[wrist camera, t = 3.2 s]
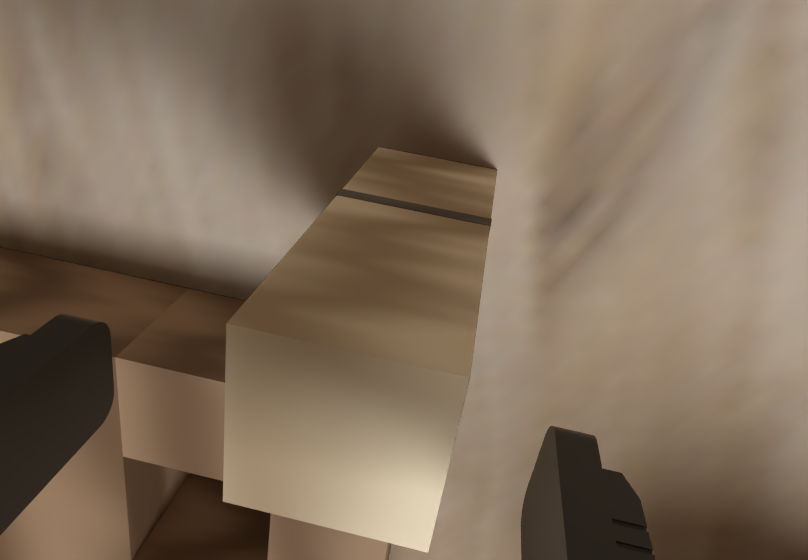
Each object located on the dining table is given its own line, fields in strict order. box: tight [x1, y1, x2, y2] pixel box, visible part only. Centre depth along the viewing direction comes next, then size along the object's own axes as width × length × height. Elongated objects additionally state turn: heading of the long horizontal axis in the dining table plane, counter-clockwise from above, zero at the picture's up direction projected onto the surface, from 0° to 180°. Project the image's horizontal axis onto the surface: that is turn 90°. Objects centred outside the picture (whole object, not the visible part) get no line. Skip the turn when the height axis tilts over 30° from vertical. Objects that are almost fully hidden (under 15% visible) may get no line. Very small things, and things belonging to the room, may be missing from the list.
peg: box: [223, 147, 497, 552], centre depth 16 cm, size 4×4×12 cm
